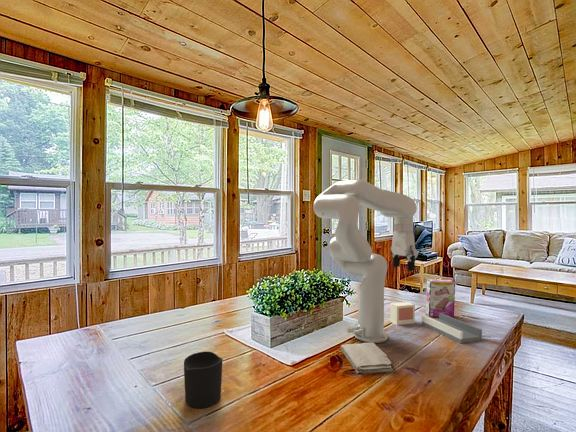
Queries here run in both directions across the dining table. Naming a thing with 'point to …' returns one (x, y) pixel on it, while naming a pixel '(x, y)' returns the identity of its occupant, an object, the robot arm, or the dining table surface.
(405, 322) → the product box
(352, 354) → the washcloth
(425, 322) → the shelf
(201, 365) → the pen holder
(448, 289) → the candy bar box
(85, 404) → the dining table surface
